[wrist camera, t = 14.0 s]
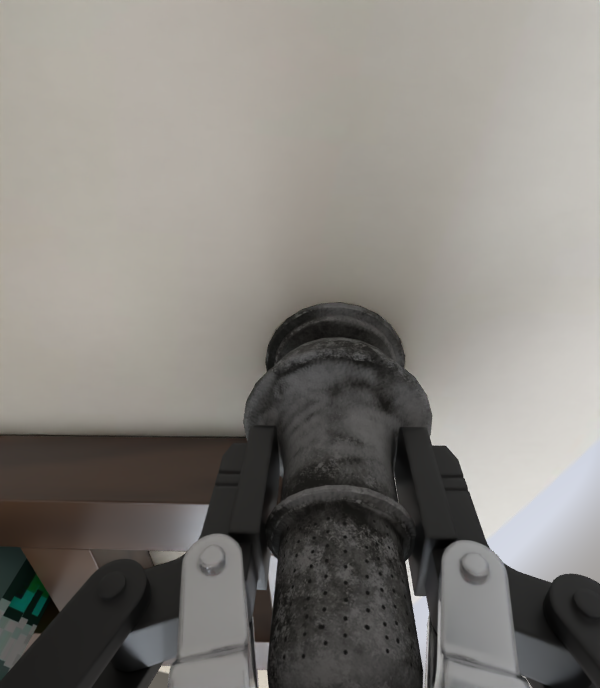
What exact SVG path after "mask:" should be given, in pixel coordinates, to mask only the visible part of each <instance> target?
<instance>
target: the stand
mask: <svg viewBox="0 0 600 688" xmlns="http://www.w3.org/2000/svg"><path fill="white" fill-rule="evenodd" d="M233 443H247V438H213V437H115V436H18V435H0V546H1V547H21V549H22V551H23V553H24V554H25V556H26V558H27V559H28V561H29V563H30V564H31V566H32V567H33V569H34V571H35V572H36V574H37V576H38V577H39V579H40V580H41V582H42V584H43V585H44V587H45V589H46V590H47V592H48V593H49V595H50V597H51V598H52V599H51V601H50V602H49V604H48V606H47V608H46V610H45V612H44V614H43V616H42V618H41V620H40V621H39V623H38V625H37V627H36V629H35V631H34V633H33V635H32V637H31V639H30V640H29V642H28V644H27V646H26V648H25V650H24V652H23V654H24V653H25V652H26V651H27V650H28V648H29V647H30V646H31V645H32V644H33V643H34V641H35V640H36V639H37V638H38V637H39V636H40V635H41V633H42V632H43V631H44V630H45V629H46V628H47V626H48V625H49V624H50V623H51V622H52V621H53V619H54V618H55V617H56V616H57V615H58V614H59V612H60V611H61V610H62V609H63V608H64V607H65V605H66V604H67V603H68V602H69V601H70V600H71V598H72V597H73V596H74V595H75V594H76V593H77V591H78V590H79V589H80V588H81V587H82V586H83V584H84V583H85V582H86V581H87V580H88V579H89V578H90V576H91V575H92V574H93V573H94V572H95V571H97V570H98V569H99V568H100V567H102V566H103V565H105V564H107V563H109V562H111V561H114V560H118V559H132V560H134V561H137V562H138V563H140V564H141V565H142V567H143V568H144V569H147V568H150V567H154V566H153V563H152V560H151V558H150V555H149V552H148V550H150V551H187V550H188V549H189V548H190V547H191V546H192V545H193V543H195V542H196V541H197V540H198V539H199V537H200V535H201V532H202V529H203V525H204V521H205V518H206V514H207V511H208V507H209V503H210V500H211V496H212V492H213V489H214V486H215V482H216V478H217V474H218V472H219V467H220V463H221V460H222V456H223V455H224V453H225V452H226V451H227V450H228V449H229V447H230V446H231V445H232V444H233ZM282 483H283V478H282V477H281V476H280V478H279V488H278V497H277V505H278V504H279V503H280V501H281V492H282ZM277 505H276V506H277ZM277 561H278V559H276V558H275V557H274V555H273V554H272V552H271V557H270V565H269V574H268V582H267V590H256V597H255V604H254V612H253V623H254V635H255V648H256V660H257V670H267V662H268V652H269V642H270V632H271V622H272V611H273V601H274V591H275V581H276V571H277ZM23 654H22V655H23ZM21 657H22V656H21ZM175 659H176V658H173V659H170V660H167V661H164V662H163V664H162V665H161V666H171V665H172V663H173V662H174V661H175Z"/></svg>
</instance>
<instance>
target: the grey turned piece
mask: <svg viewBox="0 0 600 688" xmlns="http://www.w3.org/2000/svg"><path fill="white" fill-rule="evenodd" d="M404 363H405V355H404V351H403V348H402V344H401V341H400V338H399V337H398V335H397V334H396V332H395V331H394V329H393V328H392V326H391V325H390V324H389V323H388V322H386V321H385V320H384V319H383V318H382V317H380V316H379V315H378V314H376V313H374V312H372V311H370V310H368V309H365V308H363V307H361V306H357V305H351V304H346V303H325V304H319V305H315V306H312V307H309V308H305V309H303V310H301V311H299V312H298V313H296V314H294V315H293V316H291V317H289V318H288V319H287V320H286V321H285V322H284V323H283V324H282V325H281V326H280V327H279V328H278V329H277V330H276V331H275V333H274V335H273V337H272V339H271V341H270V343H269V345H268V350H267V356H266V369H267V373H266V374H265V375H264V376H263V377H262V378H261V379H260V380H259V381H258V382H257V383H256V384H255V386H254V388H253V390H252V391H251V393H250V395H249V397H248V399H247V401H246V406H245V414H244V421H243V423H244V428H245V433H246V438H247V441H248V437H249V432H250V428H251V426H252V425H276V427H277V436H278V448H279V461H280V476H281V477H282V478H283V483H282V492H281V501H280V503H279V504H278V505H277V506H275V507H274V509H273V510H272V512H271V513H270V515H269V516H268V518H267V521H266V527H265V532H266V541H267V546H268V548H269V549H270V551H271V552H272V554H273V555H274V557H275V558H276V559H278V561H277V571H276V581H275V591H274V601H273V611H272V622H271V632H270V642H269V652H268V662H267V673H268V685H269V688H423V668H422V662H421V656H420V649H419V643H418V638H417V631H416V625H415V619H414V613H413V607H412V601H411V595H410V589H409V583H408V576H407V570H406V564H405V561H406V560H407V559H408V558H409V557H410V556H411V554H412V552H413V550H414V545H415V539H416V526H415V524H414V521H413V518H412V516H411V515H410V514H409V513H408V512H407V511H406V510H405V508H404V507H403V506H402V505H401V504H399V503H398V497H397V491H396V485H395V480H394V477H395V461H396V452H397V443H398V434H399V428H400V427H426V428H427V430H428V433H429V437H430V435H431V424H432V413H431V409H430V405H429V401H428V398H427V394H426V393H425V392H424V390H423V389H422V387H421V386H420V384H419V383H418V381H417V380H416V378H415V377H414V376H413V375H411V374H410V373H409V372H408V371H406V370H405V369H404Z"/></svg>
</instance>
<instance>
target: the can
mask: <svg viewBox="0 0 600 688" xmlns="http://www.w3.org/2000/svg"><path fill="white" fill-rule="evenodd" d="M51 599H52V598H51V597H50V595H49V593H48V592H47V590H46V589H45V587H44V585H43V584H42V582H41V580H40V579H39V577H38V576H37V574H36V572H35V571H34V569H33V567H32V566H31V564H30V563H29V561H28V559H27V558H26V556H25V554H24V553H23V551H22V549H21V547H1V546H0V681H1V680H2V679H3V678H4V676H5V675H6V674H7V673H8V672H9V671H10V669H11V668H12V667H13V666H14V665H15V664H16V662H17V661H18V660H19V659H20V658H21V656H22V654H23V652H24V650H25V648H26V646H27V644H28V642H29V640H30V639H31V637H32V635H33V633H34V631H35V629H36V627H37V625H38V623H39V621H40V620H41V618H42V616H43V614H44V612H45V610H46V608H47V606H48V604H49V602H50V601H51Z"/></svg>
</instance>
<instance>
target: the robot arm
mask: <svg viewBox="0 0 600 688" xmlns="http://www.w3.org/2000/svg"><path fill="white" fill-rule="evenodd" d="M279 478H280V461H279V448H278V436H277V427H276V425H252V426H251V428H250V432H249V437H248V441H247V443H233V444H232V445H231V446H230V447H229V449H228V450H227V451H226V452H225V453H224V455H223V456H222V460H221V463H220V467H219V472H218V474H217V478H216V482H215V486H214V489H213V492H212V496H211V500H210V503H209V507H208V511H207V514H206V518H205V521H204V525H203V529H202V532H201V535H200V537H199V539H198V540H197V541H196V542H195V543H193V545H192V546H191V547H190V548H189V549H188V550H187V552H186V554H184V555H183V556H181V557H180V558H178V559H176V560H173V561H171V562H168V563H164V564H161V565H157V566H154V567H150V568H147V569H144V568H143V567H142V565H141V564H140V563H138V562H137V561H134V560H132V559H118V560H114V561H111V562H109V563H107V564H105V565H103V566H102V567H100V568H99V569H98V570H97V571H95V572H94V573H93V574H92V575H91V576H90V578H89V579H88V580H87V581H86V582H85V583H84V584H83V586H82V587H81V588H80V589H79V590H78V591H77V593H76V594H75V595H74V596H73V597H72V598H71V600H70V601H69V602H68V603H67V604H66V605H65V607H64V608H63V609H62V610H61V611H60V612H59V614H58V615H57V616H56V617H55V618H54V619H53V621H52V622H51V623H50V624H49V625H48V626H47V628H46V629H45V630H44V631H43V632H42V633H41V635H40V636H39V637H38V638H37V639H36V640H35V641H34V643H33V644H32V645H31V646H30V647H29V648H28V650H27V651H26V652H25V653H24V654H23V655H22V657H21V658H20V659H19V660H18V661H17V662H16V664H15V665H14V666H13V667H12V668H11V669H10V671H9V672H8V673H7V674H6V675H5V676H4V678H3V679H2V680H1V681H0V688H148V686H149V685H150V683H151V681H152V680H153V678H154V677H155V675H156V673H157V672H158V670H159V669H160V667H161V665H162V664H163V662H164V661H167V660H170V659H173V658H176V659H175V661H174V662H173V663H172V665H171V668H170V672H169V679H168V688H259V685H258V672H257V660H256V648H255V635H254V623H253V612H254V604H255V597H256V590H267V582H268V574H269V565H270V557H271V551H270V549H269V548H268V546H267V541H266V532H265V527H266V521H267V518H268V516H269V515H270V513H271V512H272V510H273V509H274V507H275V506H276V505H277V497H278V488H279ZM395 481H396V489H397V495H398V500H399V504H401V505H402V506H403V507H404V508H405V510H406V511H407V512H408V513H409V514H410V515H411V516H412V518H413V521H414V524H415V526H416V539H415V545H414V550H413V552H412V554H411V556H410V557H409V558H408V559H409V565H410V571H411V577H412V583H413V589H414V595H415V596H426V597H427V602H428V608H429V617H428V623H427V647H426V675H425V688H530V687H529V684H528V682H527V680H528V681H529V683H530V685H531V686H532V687H533V688H600V584H599V583H597V582H596V581H594V580H592V579H590V578H588V577H585V576H582V575H578V574H564V575H560V576H559V577H557V578H556V579H555V580H553V582H552V583H551V582H548V581H545V580H541V579H538V578H535V577H532V576H529V575H526V574H523V573H521V572H518V571H516V570H514V569H512V568H510V567H509V566H507V565H506V564H504V563H503V562H502V560H501V559H500V558H499V557H498V556H497V555H496V554H495V553H494V552H493V551H492V550H491V549H490V548H489V546H488V544H487V542H486V540H485V537H484V534H483V531H482V528H481V525H480V522H479V519H478V516H477V514H476V511H475V508H474V505H473V502H472V499H471V496H470V493H469V492H468V487H467V485H466V482H465V479H464V478H463V473H462V470H461V467H460V464H459V461H458V459H457V458H456V457H455V456H454V455H453V453H452V452H451V451H450V450H449V449H448V448H447V447H446V446H432V444H431V440H430V437H429V433H428V430H427V428H426V427H400V428H399V434H398V443H397V452H396V461H395ZM521 675H522V676H525V677H526V678H527V680H526V679H525V678H523V677H522V676H521Z"/></svg>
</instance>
